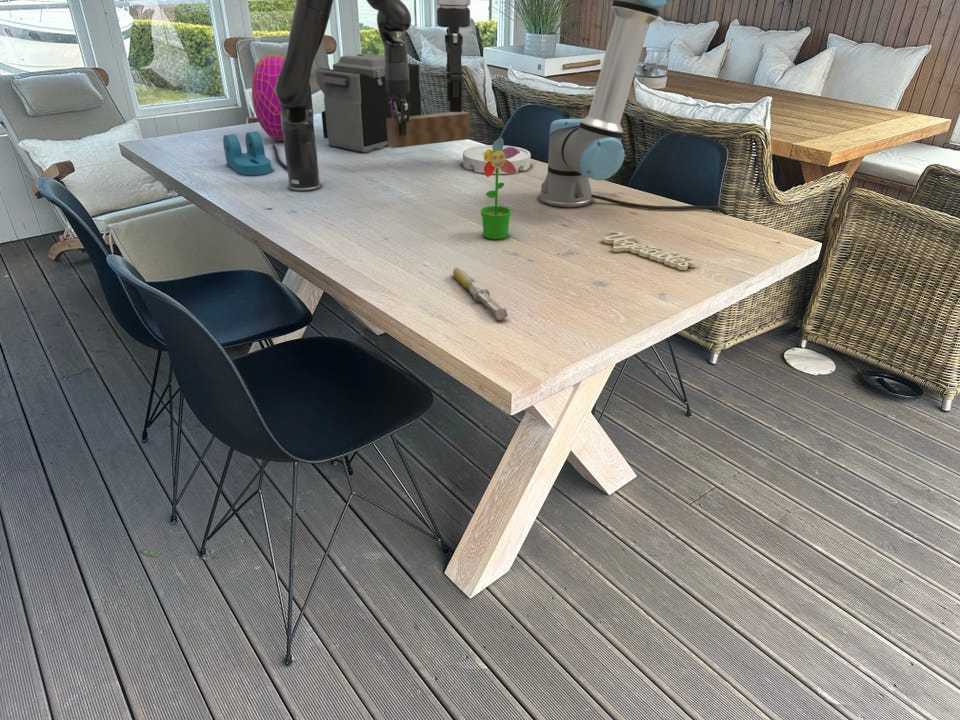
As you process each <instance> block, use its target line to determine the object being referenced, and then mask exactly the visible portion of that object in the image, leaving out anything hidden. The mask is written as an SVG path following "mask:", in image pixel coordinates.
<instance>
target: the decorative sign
mask: <svg viewBox="0 0 960 720" xmlns="http://www.w3.org/2000/svg"><path fill="white" fill-rule="evenodd" d="M635 241H636V237H635V236H631V235H630V236H624V233H623V232H619V231H612V230H611V231H609V235H607V236H604V237H603V243H604V244H608V245H612V246H613V247H612V252H614V253H621V252H630V253H632V254H636V255H637V254H638V255H639V256H641V257H642V258H649V260H652V261H655V262H658V263H663V264H664V265H665V266H669V267H671V268H676V269H678V270H680V271H687V270H688V268H691V269H693V268H694V267H695V266H694V265H695V262H694V261H691V260H688V258H689V255H685V254H681V255H679V253H678V252H677V251H667V252H663V251H662V248H660V247H659V246H653V245H651V244H647V245H644V244H640V243H636V242H635Z"/></svg>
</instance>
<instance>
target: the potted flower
mask: <svg viewBox="0 0 960 720" xmlns="http://www.w3.org/2000/svg"><path fill="white" fill-rule="evenodd" d="M492 145H493V151H492V150H491V149H487V151H486V153H485V155H484V160H485V161H489V162H487V163H486V165H485V167H484V172H485V173H484V174H485V176H486V177H487V178H490V177H491V176H492V175H493V174H492V173H493V172H494V170H495V168H496V174H495V187H494V188H495V190H494V189H493V190H492V189H491V190H488V191H487V192H486V193H485V195H486V197H488V198H490V199H494V205H488V206H484V207H482V208H481V209H480V217H481V221H482V233H483V236H484V237H485V238H487V239H491V240H502V239H505V238H507V237H508V234H509V227H510V222H511V221H510V219H511V217H512V212H513V211H512V209H511V208H509V207H506V206H503V205H498V204H499V202H498V201H499V190H501V189H502V188H503V187H504V185H505V183H504V182H499V174H498V169H499V168H500V169H501V170H502V171H504V172H506V173H511V174H516V173H515V172H517V170H516V168H515V167H514V165H513V164H512V163H511V162H510V161H508V160H505V159H509V158H512V157H514V156H515V155H517V154H519V153H520V151H519V150H518V149H516V148H514V147H515V146H513V147H506V148H504V149H503V145H504V139H503V137H499V138H498V139H496V140H494V141H493V143H492ZM504 146H505V145H504Z"/></svg>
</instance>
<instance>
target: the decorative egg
mask: <svg viewBox="0 0 960 720" xmlns="http://www.w3.org/2000/svg"><path fill="white" fill-rule="evenodd" d="M285 57H286V56H282V55H280V54H268V55H265V56H262V57H261V58H260V59H259V60H258V61H257V62H256V65H255V68H254V69H253V70H254V71H253V73H252V77H251V101H252V107H253V110H254V114H255V116H256V118H257V121H258V123H259V125H260V127H261V128H262V130H263V131H264V133H266V135H267V136H268V137H270V138H271V139H273V140H275V141H282V142H284V141H283V133H282V126H281V105H280V101H279V99H278V98H277V95H276V91H275V86H276V82H277V80H278V77H279V75H280V72H281V69H282V66H283V63H284V61H285Z"/></svg>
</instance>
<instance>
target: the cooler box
mask: <svg viewBox="0 0 960 720" xmlns="http://www.w3.org/2000/svg"><path fill="white" fill-rule="evenodd" d="M408 68H409V85H410V92H409V93H408V94H406V95H405V99H406V103H409V104H410V116H417V115H423V104H422V103H423V102H422V101H423V100H422V89H421V67H420V64H417V63H416V64H415V63H408ZM315 80H316V81H315V82H316V84H317V85H318V87H319V89H320V90H321V93H322V94H323V95H324V96H323V103H324V104H323V105H324V110H323V111H321V124H322V132H323V138H324V139H325V140H327V141H328V144H329V145H330V146H333V147H337V148H342V149H346V150H351V151H356V152H361V153H370V152H372V151H373V150H374V149H376V150H380V149H384V148H385V147H386V146H388V140H387V125H386V119H387V118H392V117H390V115H389V108H388V101H387V98H388V97H391V95H390V94H387V93H386V86H385V56H384V54H375V53H357V54H356V55H341V56H340V58H339V60H338V62H336V63H333V64H332V68H324V67H320V68H315ZM406 117H407V115H406Z"/></svg>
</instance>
